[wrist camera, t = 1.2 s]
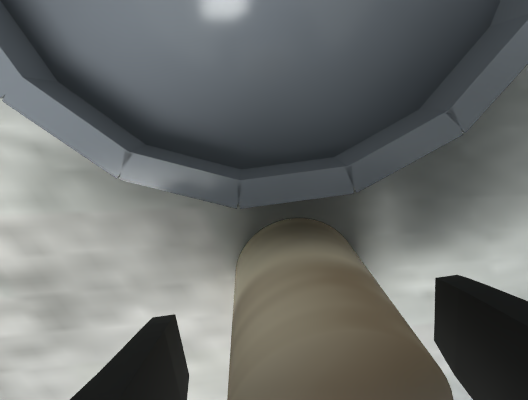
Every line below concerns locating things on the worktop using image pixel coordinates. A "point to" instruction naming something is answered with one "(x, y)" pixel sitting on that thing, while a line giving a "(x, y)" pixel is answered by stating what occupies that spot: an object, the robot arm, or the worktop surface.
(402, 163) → the round tray
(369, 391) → the beige cylinder
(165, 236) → the worktop surface
